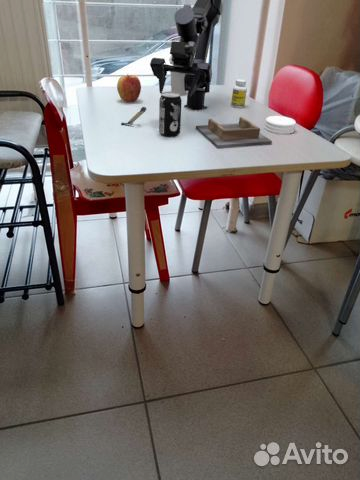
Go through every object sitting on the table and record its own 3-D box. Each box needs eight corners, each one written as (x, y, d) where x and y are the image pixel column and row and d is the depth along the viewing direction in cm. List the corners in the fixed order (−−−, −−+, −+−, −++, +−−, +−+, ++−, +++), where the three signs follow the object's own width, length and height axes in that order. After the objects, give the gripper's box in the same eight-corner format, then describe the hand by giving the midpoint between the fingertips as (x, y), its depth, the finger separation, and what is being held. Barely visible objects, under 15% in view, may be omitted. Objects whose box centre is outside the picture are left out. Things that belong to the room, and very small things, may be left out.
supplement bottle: (229, 106, 142) (232, 80, 136) (232, 103, 146) (236, 78, 140) (242, 109, 140) (246, 82, 135) (245, 105, 145) (249, 79, 139)
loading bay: (195, 128, 117) (196, 116, 115) (244, 125, 123) (246, 114, 120) (217, 148, 104) (218, 134, 101) (271, 144, 109) (274, 131, 106)
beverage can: (183, 133, 113) (185, 93, 106) (174, 139, 108) (176, 97, 101) (164, 129, 115) (165, 90, 108) (155, 135, 110) (155, 94, 104)
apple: (125, 105, 136) (124, 77, 130) (113, 100, 142) (111, 72, 136) (145, 102, 141) (145, 75, 135) (132, 97, 146) (132, 71, 141)
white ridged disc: (299, 134, 118) (301, 124, 116) (271, 135, 117) (273, 124, 114) (285, 125, 126) (288, 115, 124) (259, 125, 124) (261, 115, 122)
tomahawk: (139, 130, 116) (139, 127, 116) (120, 126, 117) (120, 123, 117) (158, 112, 133) (158, 109, 132) (141, 109, 134) (141, 106, 133)
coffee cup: (189, 96, 152) (192, 57, 143) (167, 95, 152) (168, 56, 143) (189, 91, 160) (191, 54, 151) (168, 90, 160) (169, 53, 151)
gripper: (152, 27, 105) (138, 73, 103) (214, 32, 101) (201, 81, 99) (160, 53, 116) (148, 96, 114) (216, 59, 112) (205, 103, 110)
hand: (174, 94), depth 109 cm, fingers open, 9 cm apart
